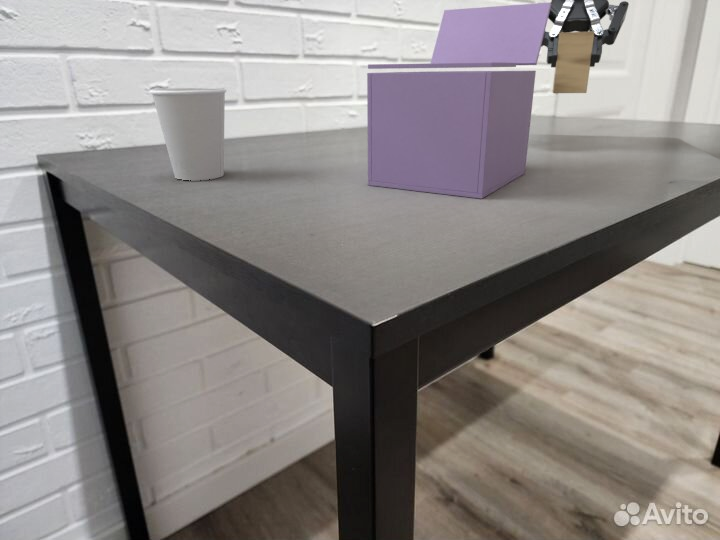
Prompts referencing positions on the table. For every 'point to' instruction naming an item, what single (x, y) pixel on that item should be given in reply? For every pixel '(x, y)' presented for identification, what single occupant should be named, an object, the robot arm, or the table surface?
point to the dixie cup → (193, 130)
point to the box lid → (492, 34)
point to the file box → (448, 128)
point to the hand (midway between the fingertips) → (573, 62)
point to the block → (573, 62)
